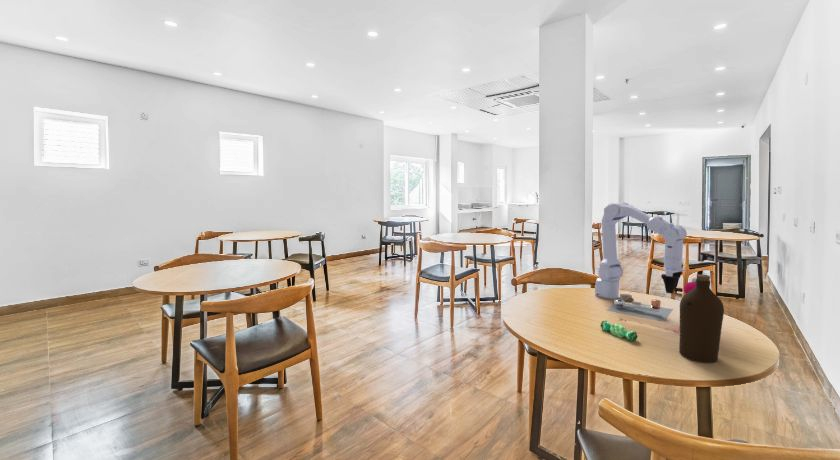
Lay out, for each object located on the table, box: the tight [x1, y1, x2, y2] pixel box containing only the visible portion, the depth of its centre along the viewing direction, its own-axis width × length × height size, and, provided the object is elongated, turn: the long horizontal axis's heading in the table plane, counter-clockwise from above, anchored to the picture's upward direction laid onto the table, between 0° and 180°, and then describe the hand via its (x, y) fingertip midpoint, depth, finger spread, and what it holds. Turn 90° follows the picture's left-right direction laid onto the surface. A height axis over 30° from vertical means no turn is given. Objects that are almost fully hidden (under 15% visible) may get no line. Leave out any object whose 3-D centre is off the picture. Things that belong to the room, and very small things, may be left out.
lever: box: [613, 298, 662, 312], centre depth 151 cm, size 16×4×4 cm, turn 47°
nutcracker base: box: [606, 293, 674, 322], centre depth 153 cm, size 20×18×5 cm
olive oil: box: [678, 273, 725, 364], centre depth 112 cm, size 11×11×25 cm
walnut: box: [625, 296, 635, 303], centre depth 159 cm, size 4×4×4 cm
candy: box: [599, 320, 639, 342], centre depth 131 cm, size 12×3×4 cm
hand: (671, 290), depth 148 cm, fingers open, 7 cm apart
